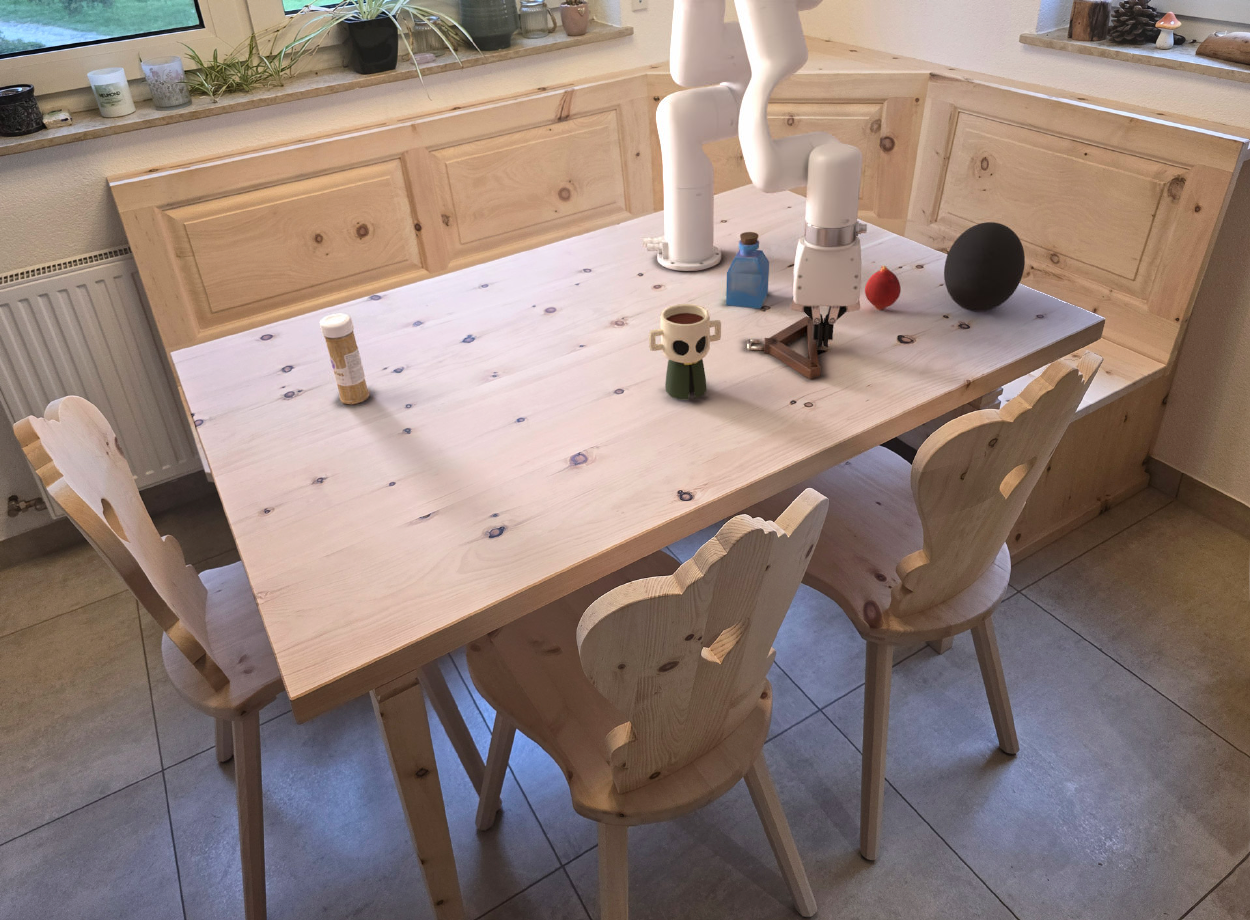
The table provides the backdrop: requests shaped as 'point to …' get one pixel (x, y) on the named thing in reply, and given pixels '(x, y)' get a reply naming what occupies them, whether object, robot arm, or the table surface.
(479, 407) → the table surface
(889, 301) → the onion
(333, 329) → the sprinkles bottle
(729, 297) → the perfume bottle
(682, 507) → the table surface
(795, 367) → the hanger
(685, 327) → the character mug
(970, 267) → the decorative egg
